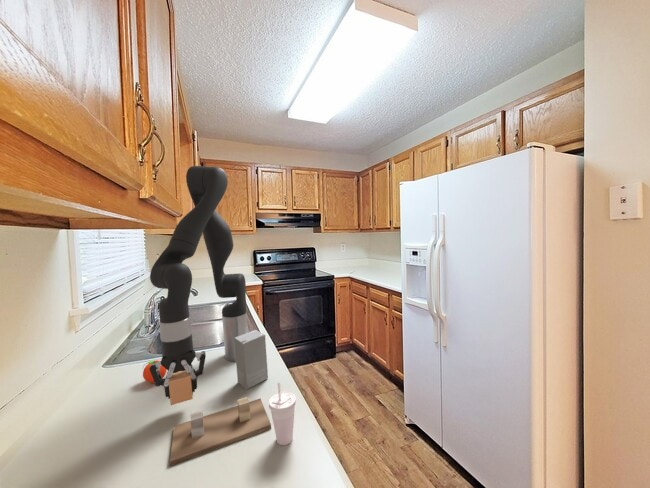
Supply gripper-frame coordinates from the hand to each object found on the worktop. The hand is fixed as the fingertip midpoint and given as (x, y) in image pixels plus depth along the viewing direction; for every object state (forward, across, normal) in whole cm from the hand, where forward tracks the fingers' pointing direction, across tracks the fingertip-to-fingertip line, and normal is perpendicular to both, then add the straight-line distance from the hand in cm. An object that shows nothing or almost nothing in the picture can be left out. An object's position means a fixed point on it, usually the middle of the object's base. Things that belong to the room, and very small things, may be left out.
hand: (181, 393), depth 75 cm
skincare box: (+6, -20, -6) cm, 22 cm away
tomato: (+6, +10, -23) cm, 26 cm away
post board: (+5, -9, +13) cm, 17 cm away
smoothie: (+5, -22, +23) cm, 33 cm away
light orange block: (+1, 0, 0) cm, 1 cm away
